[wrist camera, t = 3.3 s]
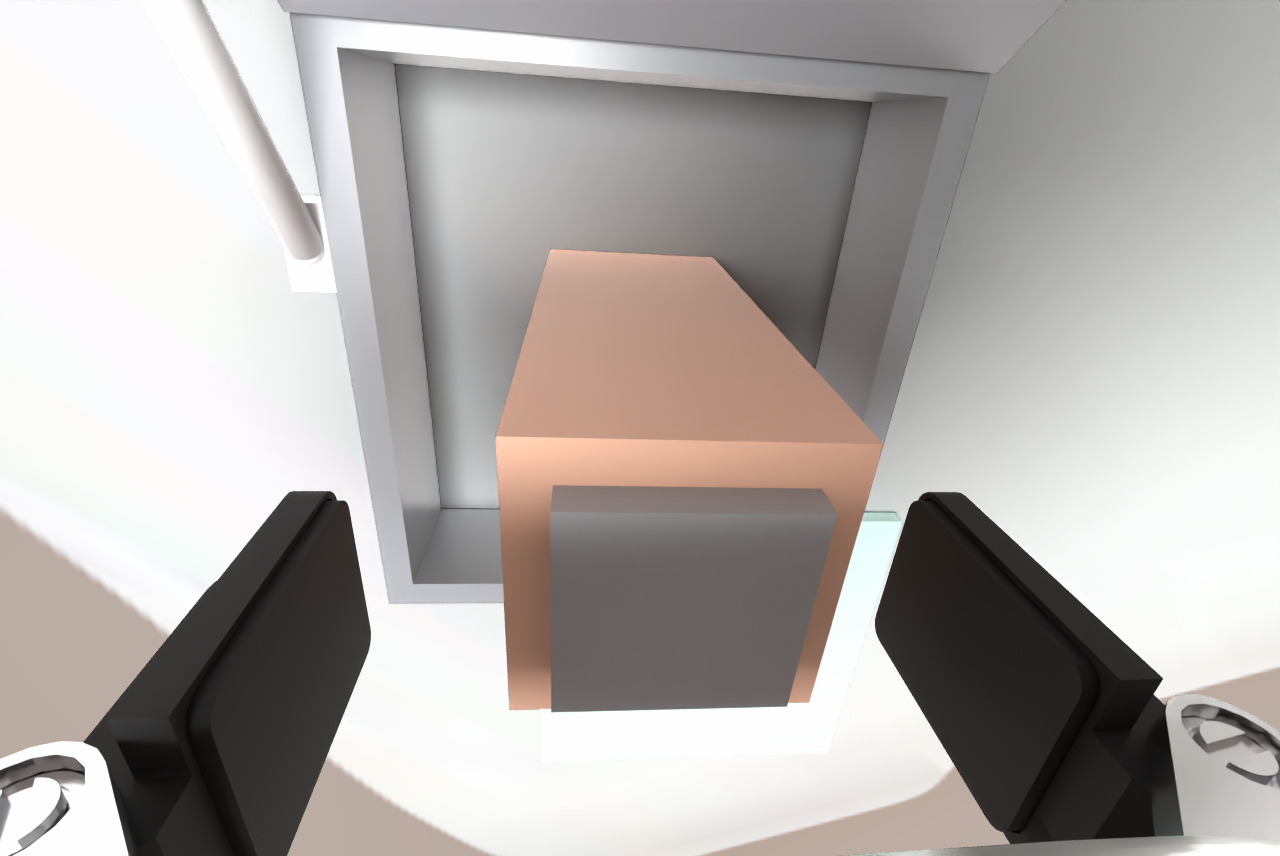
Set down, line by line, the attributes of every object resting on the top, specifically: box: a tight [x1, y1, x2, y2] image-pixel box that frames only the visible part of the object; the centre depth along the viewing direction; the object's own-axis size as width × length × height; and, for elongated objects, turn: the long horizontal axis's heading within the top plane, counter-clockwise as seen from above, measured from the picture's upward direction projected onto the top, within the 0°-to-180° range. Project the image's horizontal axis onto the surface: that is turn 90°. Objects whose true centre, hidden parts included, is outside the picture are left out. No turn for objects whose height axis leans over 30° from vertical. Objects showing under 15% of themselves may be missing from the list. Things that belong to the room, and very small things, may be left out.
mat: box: [540, 512, 902, 762], centre depth 26 cm, size 14×14×1 cm
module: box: [495, 249, 883, 713], centre depth 14 cm, size 5×5×13 cm
